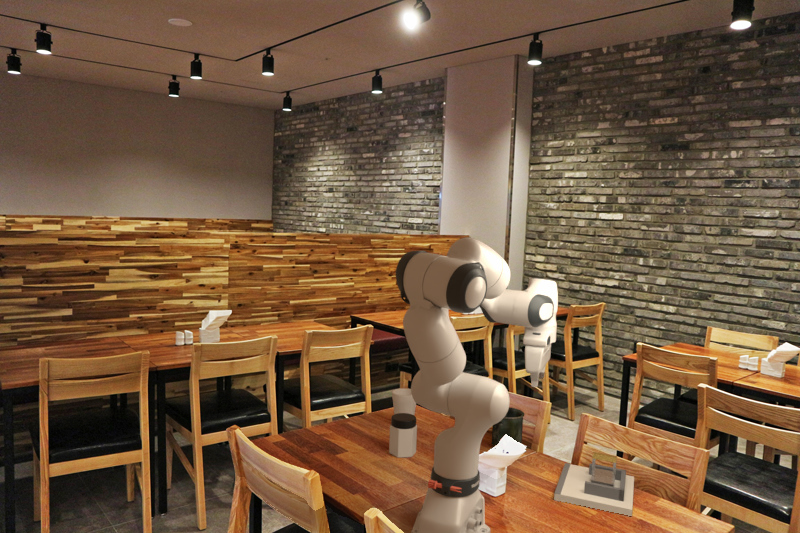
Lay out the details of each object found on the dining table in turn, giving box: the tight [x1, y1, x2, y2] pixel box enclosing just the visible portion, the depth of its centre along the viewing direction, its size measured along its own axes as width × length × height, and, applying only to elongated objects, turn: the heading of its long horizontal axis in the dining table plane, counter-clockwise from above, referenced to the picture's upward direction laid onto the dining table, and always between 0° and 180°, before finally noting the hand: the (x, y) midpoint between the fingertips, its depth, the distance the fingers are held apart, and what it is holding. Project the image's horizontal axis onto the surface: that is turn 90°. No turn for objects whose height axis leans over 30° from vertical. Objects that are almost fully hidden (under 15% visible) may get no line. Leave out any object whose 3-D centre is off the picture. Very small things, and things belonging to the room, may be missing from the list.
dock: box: [553, 462, 635, 517], centre depth 164 cm, size 22×20×5 cm
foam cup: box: [391, 387, 417, 416], centre depth 210 cm, size 10×9×13 cm
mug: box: [491, 406, 525, 448], centre depth 193 cm, size 11×15×12 cm
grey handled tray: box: [591, 451, 618, 487], centre depth 163 cm, size 9×6×9 cm
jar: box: [388, 413, 418, 459], centre depth 187 cm, size 9×8×12 cm
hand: (537, 382), depth 163 cm, fingers open, 8 cm apart
